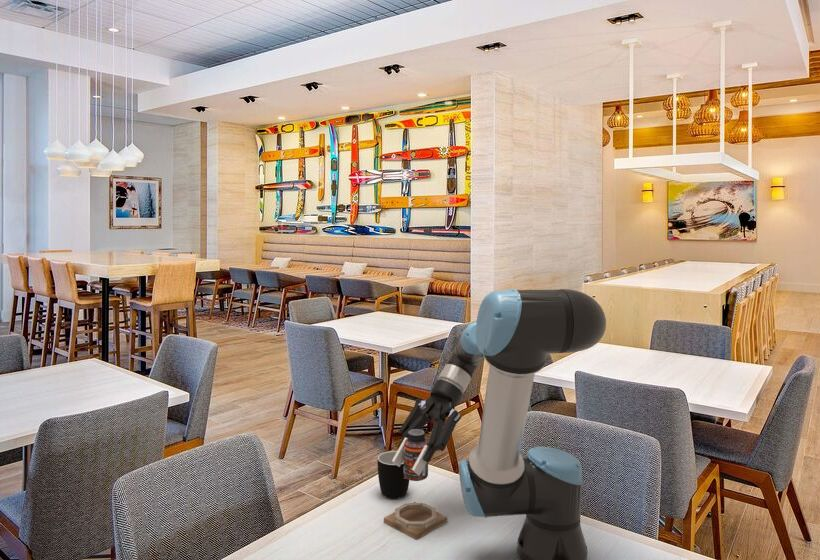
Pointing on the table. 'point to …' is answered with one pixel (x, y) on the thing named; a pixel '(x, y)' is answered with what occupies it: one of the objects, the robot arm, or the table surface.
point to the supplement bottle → (414, 454)
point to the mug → (391, 476)
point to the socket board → (415, 519)
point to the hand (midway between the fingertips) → (405, 467)
